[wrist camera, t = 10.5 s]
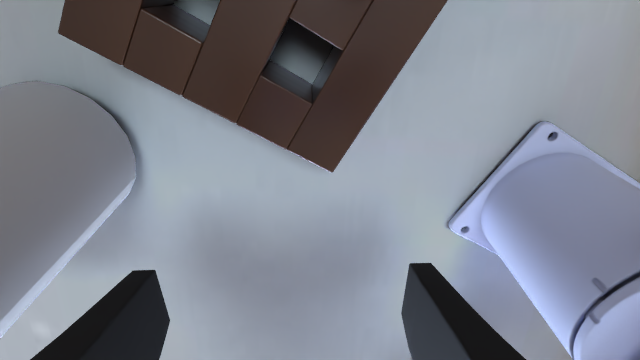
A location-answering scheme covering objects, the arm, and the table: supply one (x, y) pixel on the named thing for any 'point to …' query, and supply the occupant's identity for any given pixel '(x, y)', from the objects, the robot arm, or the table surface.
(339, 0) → the pencil stand
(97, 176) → the can
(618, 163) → the table surface
